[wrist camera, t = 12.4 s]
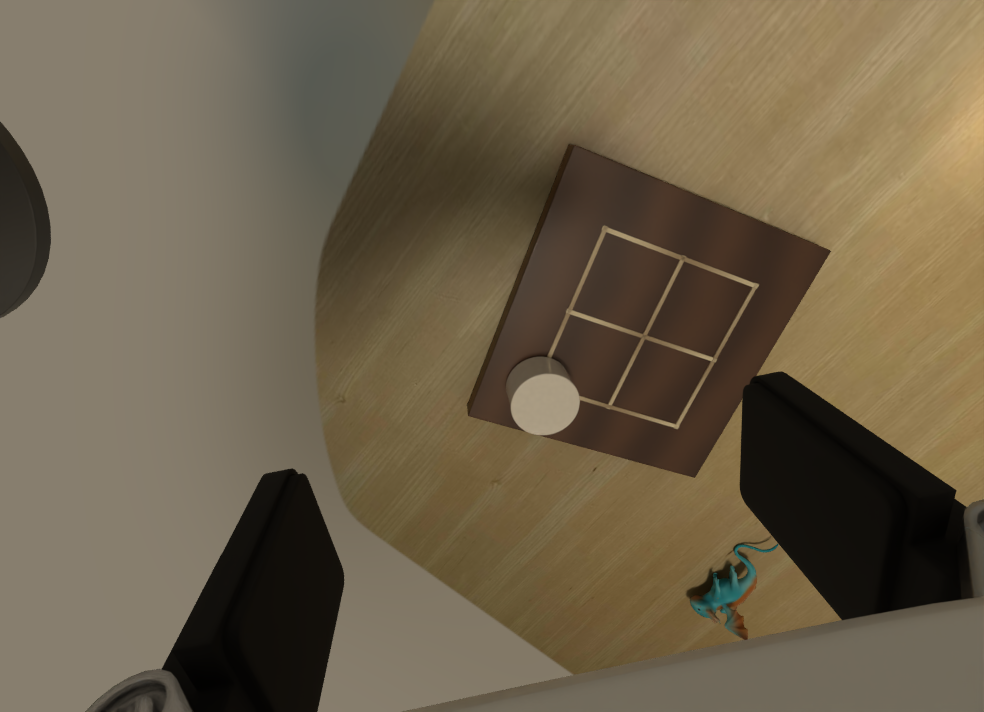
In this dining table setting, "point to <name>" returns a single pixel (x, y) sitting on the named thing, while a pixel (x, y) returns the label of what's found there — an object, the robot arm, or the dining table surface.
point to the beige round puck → (542, 396)
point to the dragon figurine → (729, 596)
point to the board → (645, 311)
